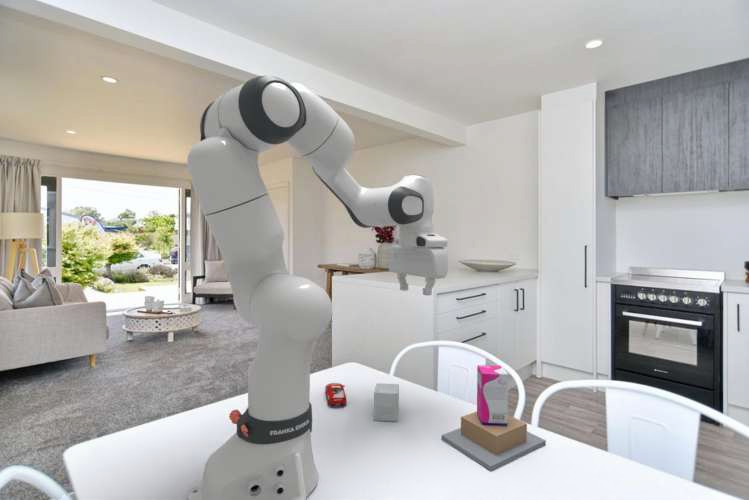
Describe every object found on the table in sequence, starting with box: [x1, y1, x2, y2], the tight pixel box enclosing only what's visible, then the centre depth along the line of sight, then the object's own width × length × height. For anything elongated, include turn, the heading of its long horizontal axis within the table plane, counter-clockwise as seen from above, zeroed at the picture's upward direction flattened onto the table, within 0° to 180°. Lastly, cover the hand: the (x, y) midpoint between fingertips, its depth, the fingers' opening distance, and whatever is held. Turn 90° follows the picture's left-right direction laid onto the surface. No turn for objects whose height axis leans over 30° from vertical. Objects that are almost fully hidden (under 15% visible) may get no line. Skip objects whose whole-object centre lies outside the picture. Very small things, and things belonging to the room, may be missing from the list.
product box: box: [373, 383, 400, 423], centre depth 99 cm, size 6×6×7 cm
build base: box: [440, 410, 547, 472], centre depth 87 cm, size 18×14×5 cm
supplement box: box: [476, 364, 509, 426], centre depth 87 cm, size 6×6×12 cm
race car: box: [324, 382, 347, 408], centre depth 110 cm, size 13×5×4 cm, turn 10°
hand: (415, 292), depth 102 cm, fingers open, 8 cm apart
